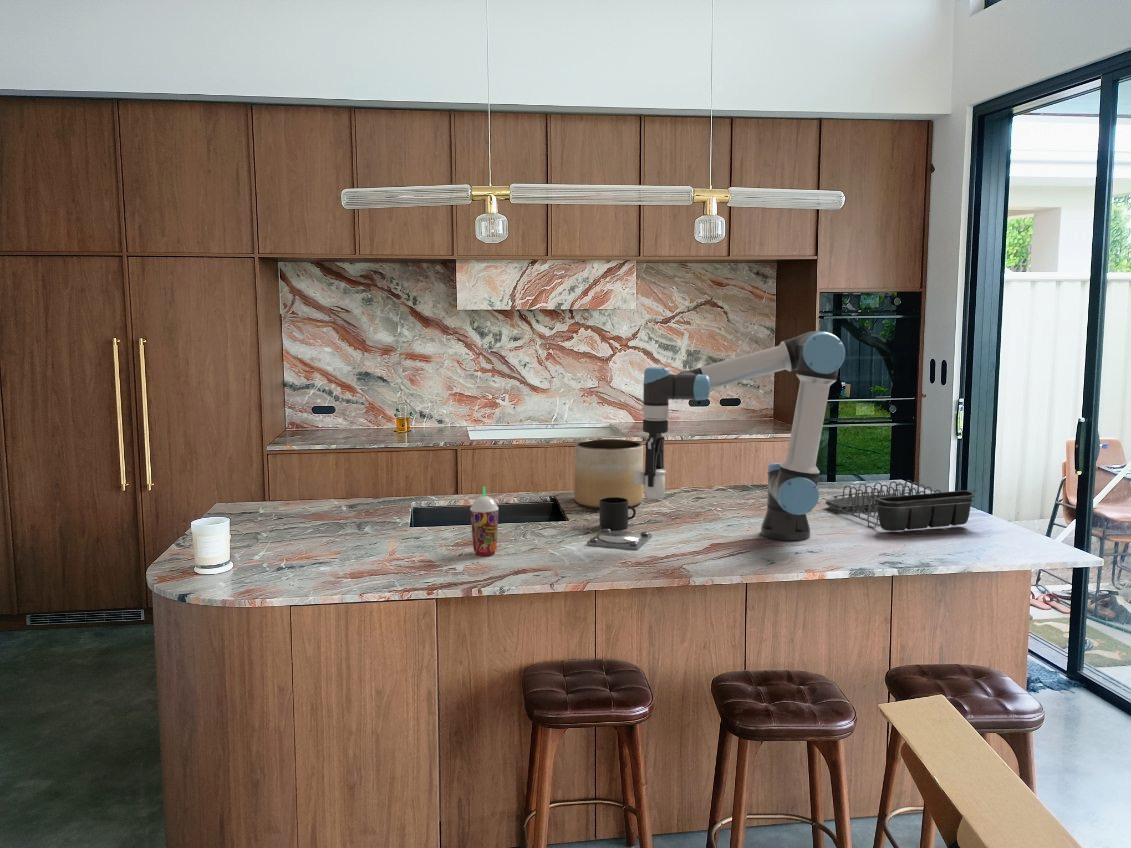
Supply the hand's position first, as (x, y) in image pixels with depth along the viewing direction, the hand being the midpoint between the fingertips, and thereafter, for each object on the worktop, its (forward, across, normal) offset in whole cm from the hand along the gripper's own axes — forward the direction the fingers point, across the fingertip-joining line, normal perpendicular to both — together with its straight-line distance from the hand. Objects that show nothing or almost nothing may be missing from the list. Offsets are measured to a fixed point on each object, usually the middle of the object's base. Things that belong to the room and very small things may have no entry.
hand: (653, 494), depth 269 cm
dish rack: (+15, -60, +68) cm, 92 cm away
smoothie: (+16, +26, -44) cm, 54 cm away
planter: (+16, -52, -30) cm, 62 cm away
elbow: (+1, 0, -1) cm, 1 cm away
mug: (+16, -17, -16) cm, 29 cm away
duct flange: (+15, 0, -11) cm, 19 cm away
